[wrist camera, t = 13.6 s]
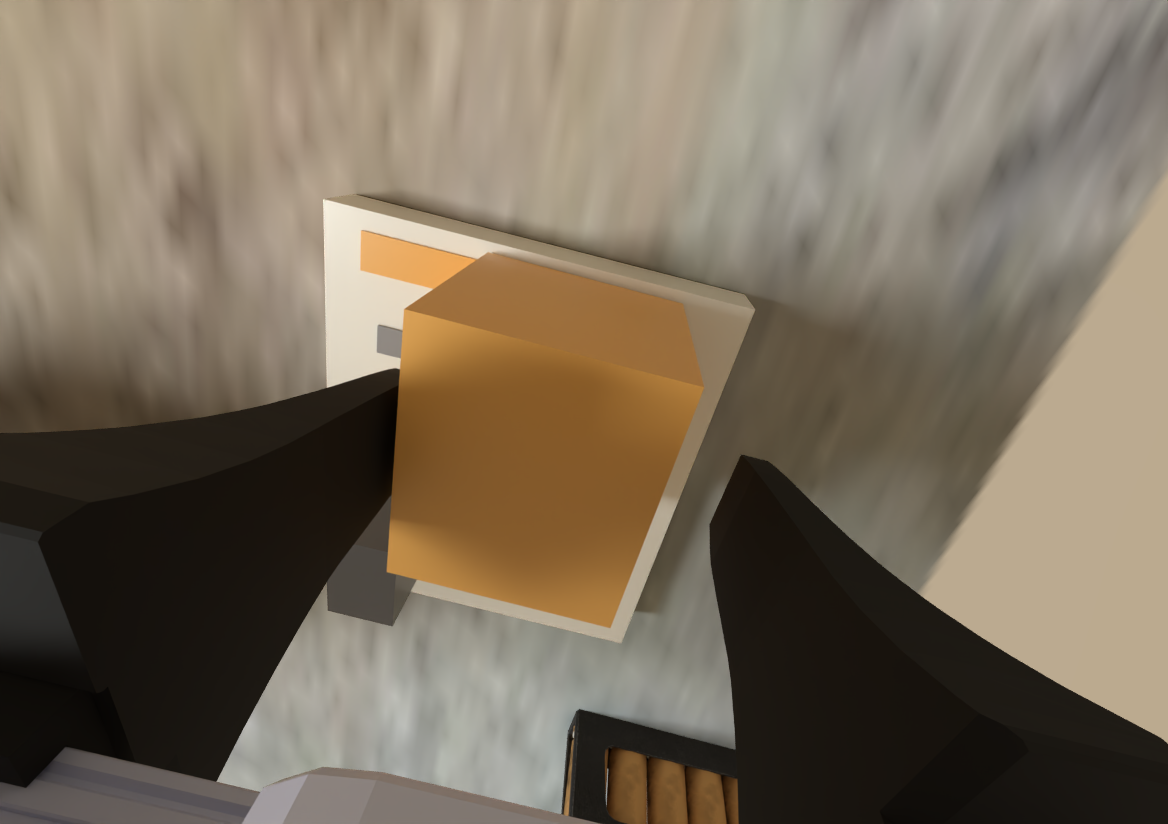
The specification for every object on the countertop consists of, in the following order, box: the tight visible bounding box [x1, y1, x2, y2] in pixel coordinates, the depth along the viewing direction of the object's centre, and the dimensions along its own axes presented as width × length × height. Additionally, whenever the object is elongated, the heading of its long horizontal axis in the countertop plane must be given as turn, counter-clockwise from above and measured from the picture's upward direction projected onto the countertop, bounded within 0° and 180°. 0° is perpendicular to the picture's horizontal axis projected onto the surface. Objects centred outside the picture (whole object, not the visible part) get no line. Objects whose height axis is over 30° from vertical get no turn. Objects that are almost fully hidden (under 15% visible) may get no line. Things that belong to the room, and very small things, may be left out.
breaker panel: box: [323, 194, 755, 643], centre depth 16 cm, size 11×13×2 cm
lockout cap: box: [387, 252, 704, 628], centre depth 12 cm, size 5×6×5 cm
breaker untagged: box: [327, 495, 417, 626], centre depth 16 cm, size 2×3×3 cm, turn 167°
